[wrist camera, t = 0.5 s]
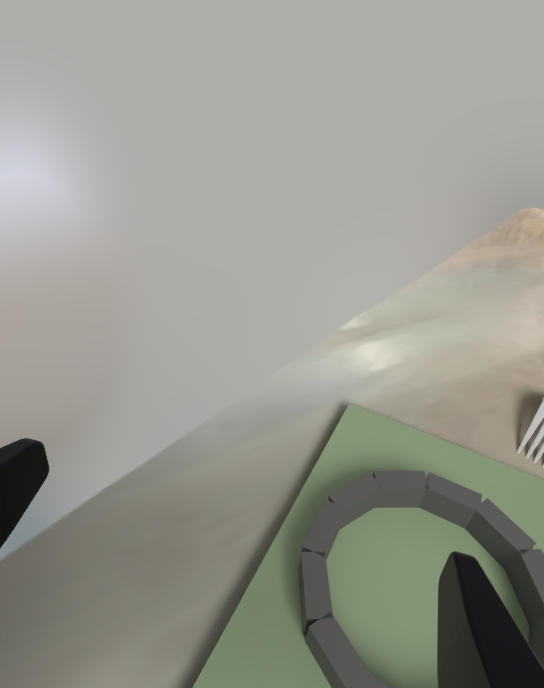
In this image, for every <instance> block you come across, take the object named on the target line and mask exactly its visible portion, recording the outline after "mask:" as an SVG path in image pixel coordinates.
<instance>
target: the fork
mask: <svg viewBox="0 0 544 688" xmlns="http://www.w3.org/2000/svg"><path fill="white" fill-rule="evenodd" d="M543 418H544V397H543V399H542V402H541V404H540V406H539V408H538V410H537V412H536V414H535V416H534V418H533V420H532V421H531V423H530V425H529V427H528V429H527V431H526V433H525V435H524V437H523V439H522V441H521V443H520V445H519V448H518V450H517V453H518V454H519V453H520V452H521V451H522V449H523V448H524V446H525V445H526V443H527V442H528V440H529V439H530V437H531V436H532V434H533V433H534V431H535V430H536V428H537V427H538V425H539V424H540V422H541V421H542V419H543ZM543 436H544V423H543V424H542V426H541V428H540V430H539V432H538V433H537V435H536V437H535V439H534V441H533V442H532V444H531V446H530V448H529V450H528V452H527V454H526V456H525V458H526V459H527V458H529V456H530V455H531V454H532V452H533V451H534V449H535V448H536V446H537V445H538V444H539V442H540V440H541V439H542V437H543ZM543 453H544V442H543V444H542V445H541V447H540V449H539V451H538V453H537V454H536V456H535V458H534V460H533V463H536V462H537V461H538V460H539V458H540V457H541V455H542V454H543ZM542 468H544V463H543V465H542Z"/></svg>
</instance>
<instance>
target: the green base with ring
mask: <svg viewBox="0 0 544 688" xmlns="http://www.w3.org/2000/svg"><path fill="white" fill-rule="evenodd" d="M453 551H457V552H461V553H465V554H468V555H472V556H474V557H475V558H476V559H477V560H478V562H479V564H480V565H481V567H482V568H483V570H484V572H485V573H486V575H487V577H488V578H489V580H490V581H491V583H492V585H493V586H494V588H495V590H496V591H497V593H498V595H499V596H500V598H501V599H502V601H503V603H504V604H505V606H506V608H507V609H508V611H509V612H510V614H511V616H512V617H513V619H514V621H515V622H516V624H517V625H518V627H519V629H520V630H521V632H522V634H523V635H524V637H525V638H526V640H527V642H528V643H529V645H530V647H531V648H532V650H533V651H534V653H535V655H536V656H537V658H538V660H539V661H540V663H541V664H542V666H543V668H544V480H543V479H541V478H538V477H535V476H533V475H530V474H528V473H525V472H523V471H520V470H518V469H515V468H513V467H510V466H508V465H505V464H503V463H500V462H498V461H495V460H493V459H490V458H487V457H485V456H482V455H480V454H477V453H475V452H472V451H470V450H467V449H465V448H462V447H460V446H457V445H455V444H452V443H450V442H447V441H445V440H442V439H439V438H437V437H434V436H432V435H429V434H427V433H424V432H422V431H419V430H417V429H414V428H412V427H409V426H407V425H404V424H402V423H399V422H397V421H394V420H391V419H389V418H386V417H384V416H381V415H379V414H376V413H374V412H371V411H369V410H366V409H364V408H361V407H359V406H356V405H354V404H351V403H349V405H348V407H347V408H346V410H345V412H344V414H343V416H342V417H341V419H340V421H339V423H338V425H337V427H336V428H335V430H334V432H333V434H332V436H331V437H330V439H329V441H328V443H327V445H326V446H325V448H324V450H323V452H322V454H321V456H320V457H319V459H318V461H317V463H316V465H315V466H314V468H313V470H312V472H311V474H310V475H309V477H308V479H307V481H306V483H305V485H304V486H303V488H302V490H301V492H300V494H299V495H298V497H297V499H296V501H295V503H294V504H293V506H292V508H291V510H290V512H289V514H288V515H287V517H286V519H285V521H284V523H283V524H282V526H281V528H280V530H279V532H278V533H277V535H276V537H275V539H274V541H273V543H272V544H271V546H270V548H269V550H268V552H267V553H266V555H265V557H264V559H263V561H262V562H261V564H260V566H259V568H258V570H257V572H256V573H255V575H254V577H253V579H252V581H251V582H250V584H249V586H248V588H247V590H246V592H245V593H244V595H243V597H242V599H241V601H240V602H239V604H238V606H237V608H236V610H235V611H234V613H233V615H232V617H231V619H230V621H229V622H228V624H227V626H226V628H225V630H224V631H223V633H222V635H221V637H220V639H219V640H218V642H217V644H216V646H215V648H214V650H213V651H212V653H211V655H210V657H209V659H208V660H207V662H206V664H205V666H204V668H203V669H202V671H201V673H200V675H199V677H198V679H197V680H196V682H195V684H194V686H193V688H438V678H437V633H438V583H439V578H440V575H441V572H442V570H443V568H444V566H445V563H446V561H447V559H448V557H449V555H450V553H451V552H453Z"/></svg>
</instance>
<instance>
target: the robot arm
mask: <svg viewBox="0 0 544 688" xmlns="http://www.w3.org/2000/svg"><path fill="white" fill-rule="evenodd" d="M48 473H49V465H48V460H47V456H46V452H45V448H44V445H43V444H42V443H41V442H40V441H36V440H32V439H27V438H24V439H21V440H18V441H16V442H13V443H11V444H9V445H6V446H4V447H2V448H0V548H1V547H2V545H3V544H4V542H5V541H6V540H7V538H8V537H9V535H10V534H11V532H12V531H13V530H14V528H15V527H16V525H17V523H18V522H19V520H20V519H21V517H22V516H23V514H24V512H25V511H26V509H27V508H28V506H29V505H30V503H31V501H32V500H33V498H34V497H35V495H36V494H37V492H38V491H39V489H40V487H41V486H42V484H43V483H44V481H45V479H46V478H47V475H48ZM437 678H438V688H544V668H543V666H542V664H541V663H540V661H539V660H538V658H537V656H536V655H535V653H534V651H533V650H532V648H531V647H530V645H529V643H528V642H527V640H526V638H525V637H524V635H523V634H522V632H521V630H520V629H519V627H518V625H517V624H516V622H515V621H514V619H513V617H512V616H511V614H510V612H509V611H508V609H507V608H506V606H505V604H504V603H503V601H502V599H501V598H500V596H499V595H498V593H497V591H496V590H495V588H494V586H493V585H492V583H491V581H490V580H489V578H488V577H487V575H486V573H485V572H484V570H483V568H482V567H481V565H480V564H479V562H478V560H477V559H476V558H475V557H474V556H472V555H468V554H465V553H461V552H457V551H453V552H451V553H450V555H449V557H448V559H447V561H446V563H445V566H444V568H443V570H442V572H441V575H440V578H439V583H438V633H437Z"/></svg>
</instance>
